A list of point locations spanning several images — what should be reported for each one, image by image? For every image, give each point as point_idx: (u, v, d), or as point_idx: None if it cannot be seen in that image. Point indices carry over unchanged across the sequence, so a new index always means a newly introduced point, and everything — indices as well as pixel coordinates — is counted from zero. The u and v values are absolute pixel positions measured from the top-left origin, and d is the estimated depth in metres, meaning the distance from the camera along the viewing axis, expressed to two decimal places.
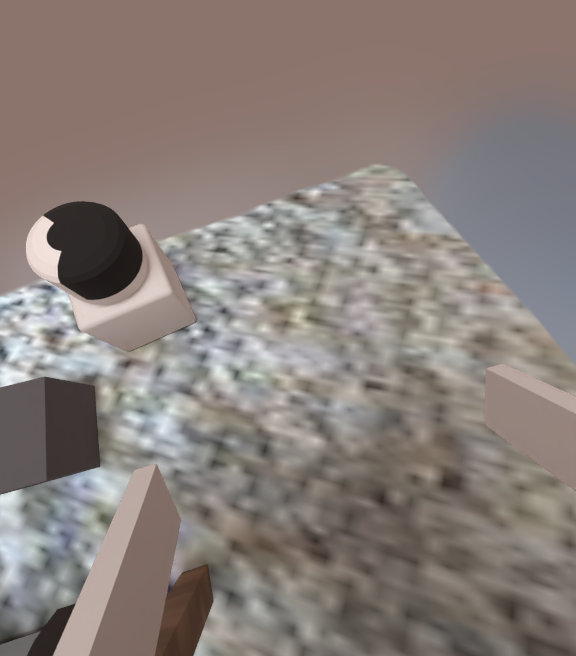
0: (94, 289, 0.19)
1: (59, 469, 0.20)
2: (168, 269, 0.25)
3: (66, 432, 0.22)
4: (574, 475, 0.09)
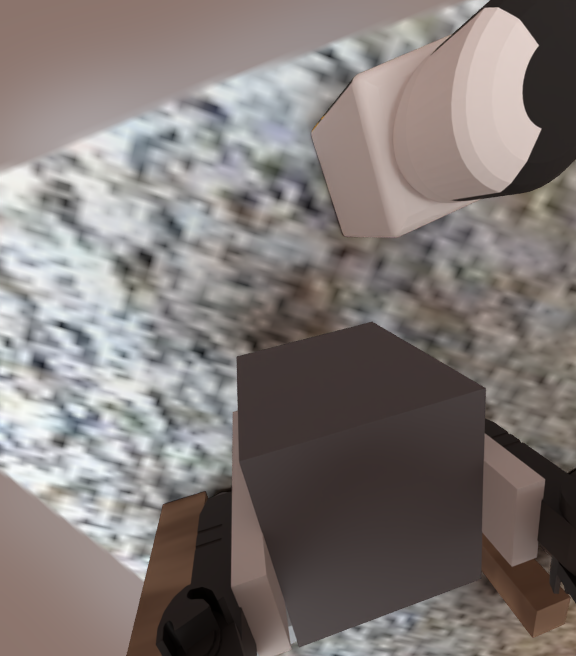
0: (501, 195, 0.12)
1: None
2: None
3: None
4: None
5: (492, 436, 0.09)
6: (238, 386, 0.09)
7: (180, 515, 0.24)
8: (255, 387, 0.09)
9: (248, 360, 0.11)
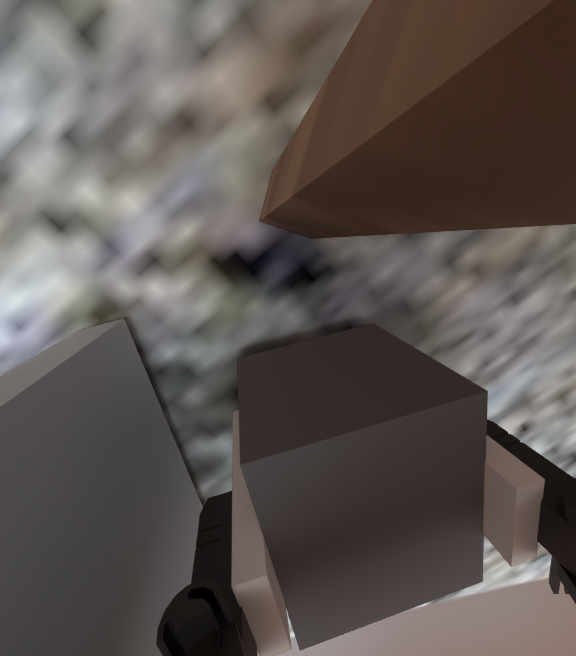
0: None
1: None
2: None
3: None
4: None
5: (492, 436, 0.09)
6: (239, 388, 0.09)
7: None
8: (256, 390, 0.09)
9: (249, 361, 0.11)
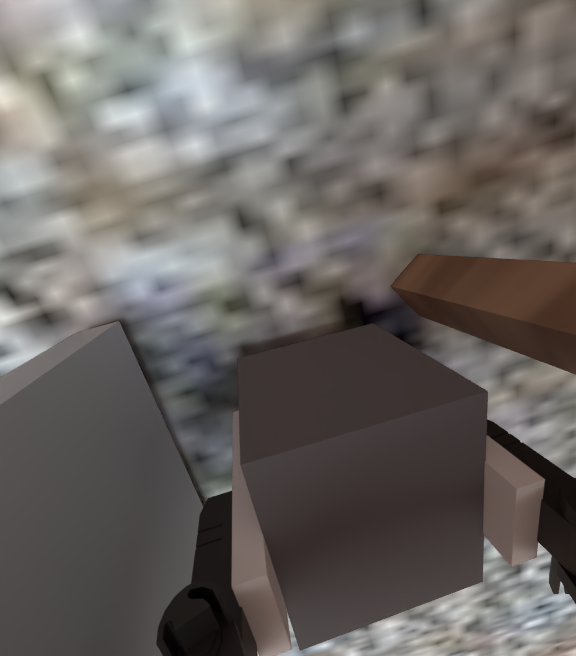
0: None
1: None
2: None
3: None
4: None
5: (492, 436, 0.09)
6: (239, 388, 0.09)
7: None
8: (256, 390, 0.09)
9: (249, 361, 0.11)
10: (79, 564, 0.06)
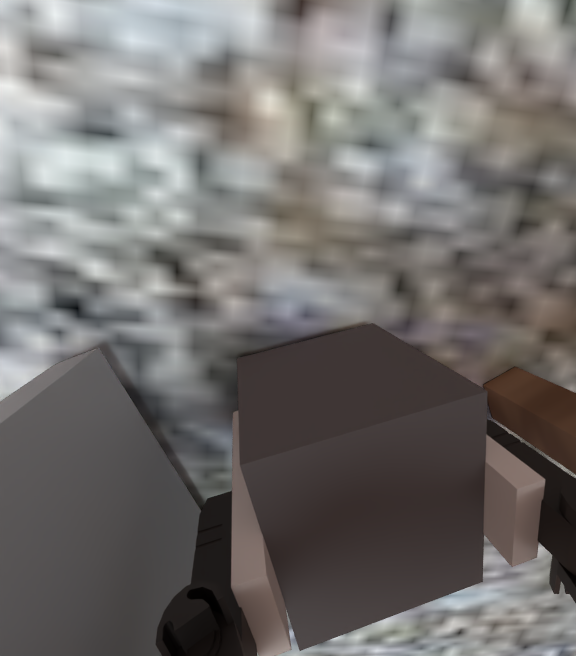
0: None
1: None
2: None
3: None
4: None
5: (492, 436, 0.09)
6: (238, 388, 0.09)
7: None
8: (256, 390, 0.09)
9: (248, 361, 0.11)
10: (46, 654, 0.05)
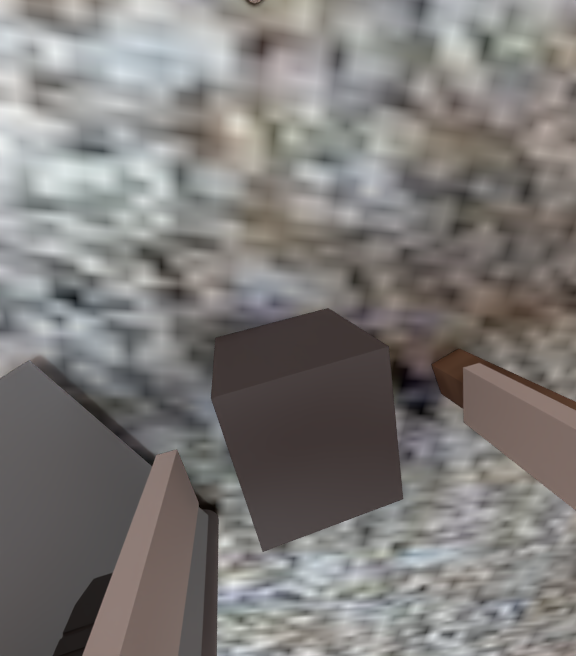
0: None
1: None
2: None
3: None
4: (541, 469, 0.09)
5: None
6: (214, 356, 0.12)
7: None
8: (227, 356, 0.12)
9: (224, 338, 0.14)
10: None
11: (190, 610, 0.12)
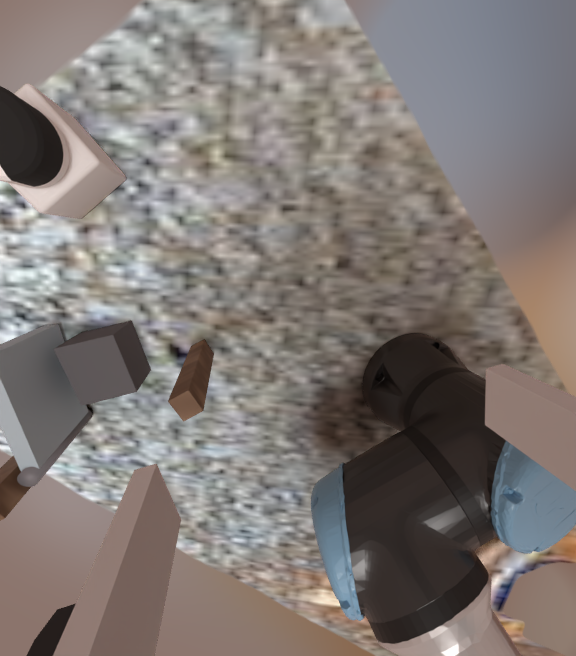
0: (39, 178, 0.22)
1: (138, 383, 0.34)
2: (79, 131, 0.26)
3: (133, 361, 0.34)
4: (574, 475, 0.09)
5: None
6: (71, 338, 0.33)
7: None
8: (74, 338, 0.33)
9: (83, 332, 0.35)
10: (31, 378, 0.29)
11: (66, 428, 0.33)
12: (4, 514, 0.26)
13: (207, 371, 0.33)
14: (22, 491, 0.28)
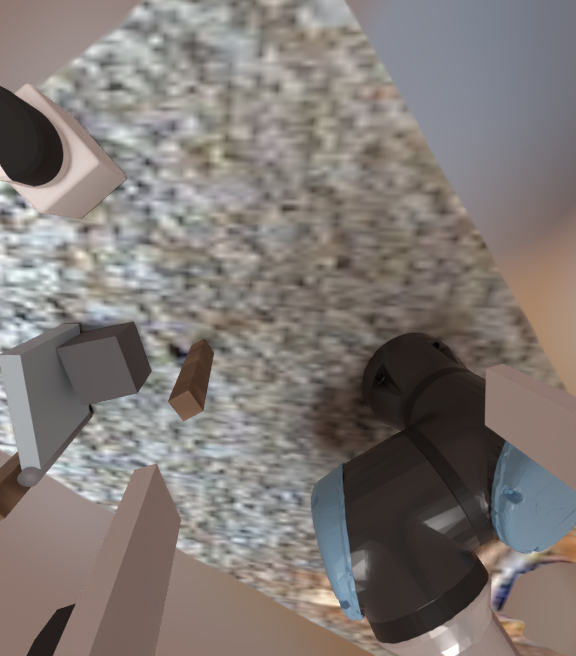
0: (39, 178, 0.22)
1: (139, 384, 0.34)
2: (79, 131, 0.26)
3: (134, 362, 0.34)
4: (574, 475, 0.09)
5: None
6: (73, 338, 0.33)
7: None
8: (76, 338, 0.33)
9: (85, 332, 0.35)
10: (48, 378, 0.29)
11: (68, 429, 0.33)
12: (4, 514, 0.26)
13: (207, 371, 0.33)
14: (22, 491, 0.28)
